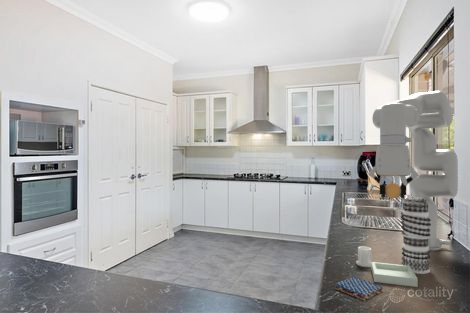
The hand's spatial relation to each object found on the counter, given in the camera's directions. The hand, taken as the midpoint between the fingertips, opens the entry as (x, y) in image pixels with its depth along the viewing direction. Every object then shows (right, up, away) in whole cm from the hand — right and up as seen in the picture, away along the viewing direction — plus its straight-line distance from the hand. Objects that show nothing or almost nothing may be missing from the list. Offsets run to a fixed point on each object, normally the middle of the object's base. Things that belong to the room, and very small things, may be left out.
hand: (392, 196), depth 103 cm
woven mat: (-15, -27, -9) cm, 32 cm away
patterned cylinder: (+12, -27, +7) cm, 30 cm away
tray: (0, -26, 0) cm, 26 cm away
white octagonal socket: (-4, -26, +12) cm, 29 cm away
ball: (0, -1, 0) cm, 1 cm away
